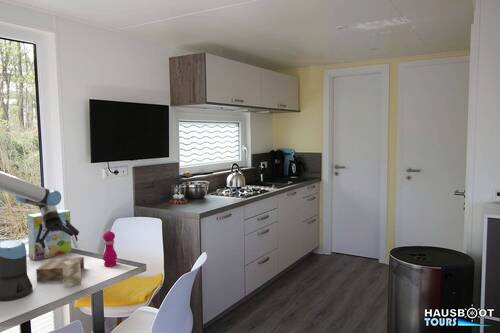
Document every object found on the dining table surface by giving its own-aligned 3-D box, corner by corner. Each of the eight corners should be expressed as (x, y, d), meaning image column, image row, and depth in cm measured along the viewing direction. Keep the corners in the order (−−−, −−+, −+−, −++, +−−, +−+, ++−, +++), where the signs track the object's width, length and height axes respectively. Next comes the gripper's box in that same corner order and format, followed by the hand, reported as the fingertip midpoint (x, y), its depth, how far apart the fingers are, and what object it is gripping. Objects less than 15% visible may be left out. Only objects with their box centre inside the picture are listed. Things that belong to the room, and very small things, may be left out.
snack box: (35, 261, 220) (32, 216, 218) (28, 258, 225) (25, 214, 223) (72, 251, 237) (70, 210, 235) (65, 249, 243) (63, 208, 241)
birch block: (68, 287, 181) (66, 264, 180) (63, 284, 186) (62, 261, 185) (81, 284, 186) (80, 261, 185) (76, 281, 190) (75, 258, 189)
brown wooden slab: (36, 281, 189) (36, 269, 189) (47, 270, 205) (47, 259, 205) (76, 278, 192) (75, 267, 192) (84, 268, 208) (83, 257, 208)
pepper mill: (105, 268, 207) (103, 231, 206) (101, 264, 213) (100, 228, 212) (118, 265, 211) (117, 229, 210) (115, 262, 217) (113, 226, 216)
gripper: (73, 215, 212) (86, 248, 203) (22, 223, 195) (33, 259, 185) (76, 207, 208) (89, 240, 199) (24, 214, 190) (36, 251, 181)
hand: (62, 249), depth 192 cm, fingers open, 13 cm apart
